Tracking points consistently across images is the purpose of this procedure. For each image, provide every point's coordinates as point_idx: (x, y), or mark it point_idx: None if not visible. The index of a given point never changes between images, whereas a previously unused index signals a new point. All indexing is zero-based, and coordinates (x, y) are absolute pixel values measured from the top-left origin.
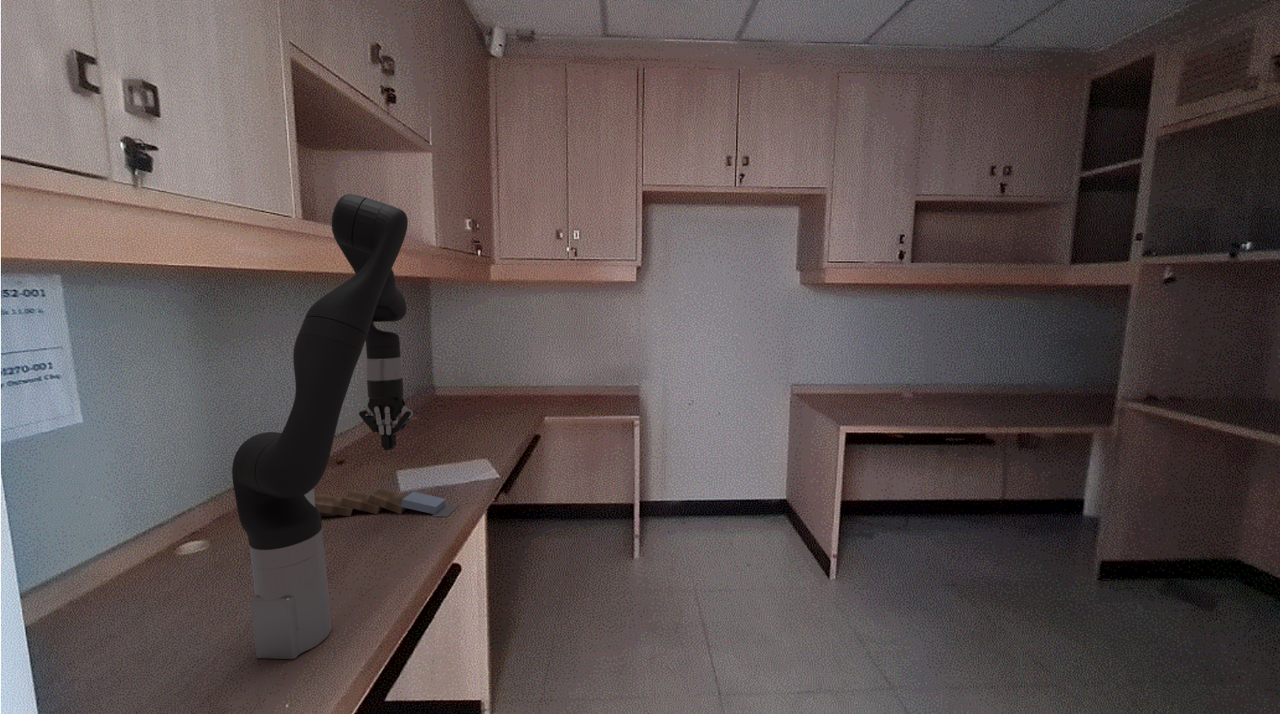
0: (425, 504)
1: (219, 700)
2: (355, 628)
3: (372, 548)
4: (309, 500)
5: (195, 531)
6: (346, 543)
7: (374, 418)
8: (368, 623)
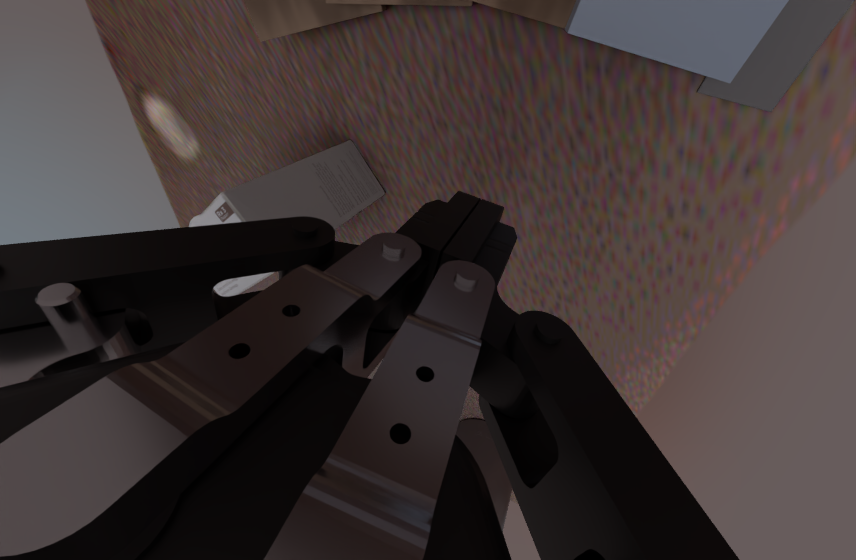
0: (680, 64)
1: None
2: None
3: (519, 262)
4: None
5: (103, 39)
6: None
7: (176, 287)
8: None
